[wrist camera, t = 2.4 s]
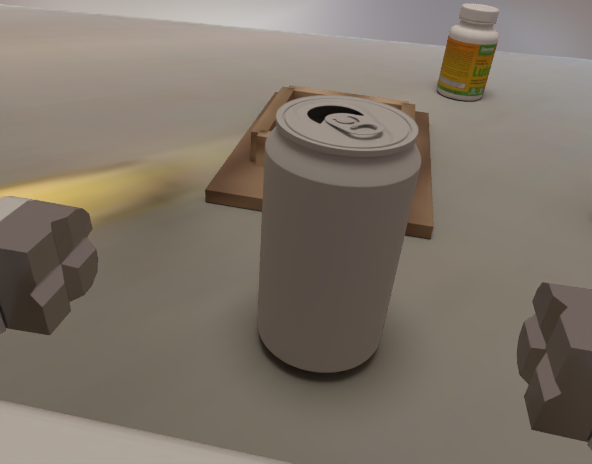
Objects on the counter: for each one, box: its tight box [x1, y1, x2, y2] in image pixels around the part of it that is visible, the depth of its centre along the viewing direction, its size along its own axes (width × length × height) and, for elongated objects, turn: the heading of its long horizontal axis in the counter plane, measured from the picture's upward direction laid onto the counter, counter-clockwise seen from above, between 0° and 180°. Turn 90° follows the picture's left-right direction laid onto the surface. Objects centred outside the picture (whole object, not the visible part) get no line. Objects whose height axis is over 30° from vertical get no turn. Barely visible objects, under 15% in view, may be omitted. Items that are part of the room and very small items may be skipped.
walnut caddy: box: [205, 86, 433, 239], centre depth 45 cm, size 16×22×4 cm
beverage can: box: [257, 95, 421, 373], centre depth 24 cm, size 6×6×12 cm
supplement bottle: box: [437, 4, 499, 101], centre depth 59 cm, size 5×5×10 cm
